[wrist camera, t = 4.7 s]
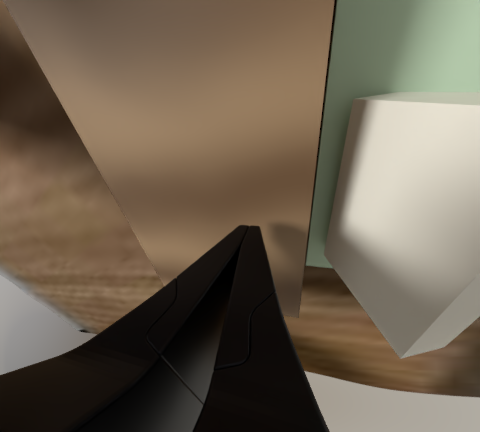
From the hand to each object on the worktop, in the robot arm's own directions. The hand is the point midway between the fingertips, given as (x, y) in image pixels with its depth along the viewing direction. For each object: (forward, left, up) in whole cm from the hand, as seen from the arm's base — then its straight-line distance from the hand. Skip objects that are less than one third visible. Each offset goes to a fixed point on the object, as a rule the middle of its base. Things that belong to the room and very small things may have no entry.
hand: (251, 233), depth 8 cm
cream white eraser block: (0, -5, -1) cm, 5 cm away
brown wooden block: (+1, +3, -5) cm, 6 cm away
